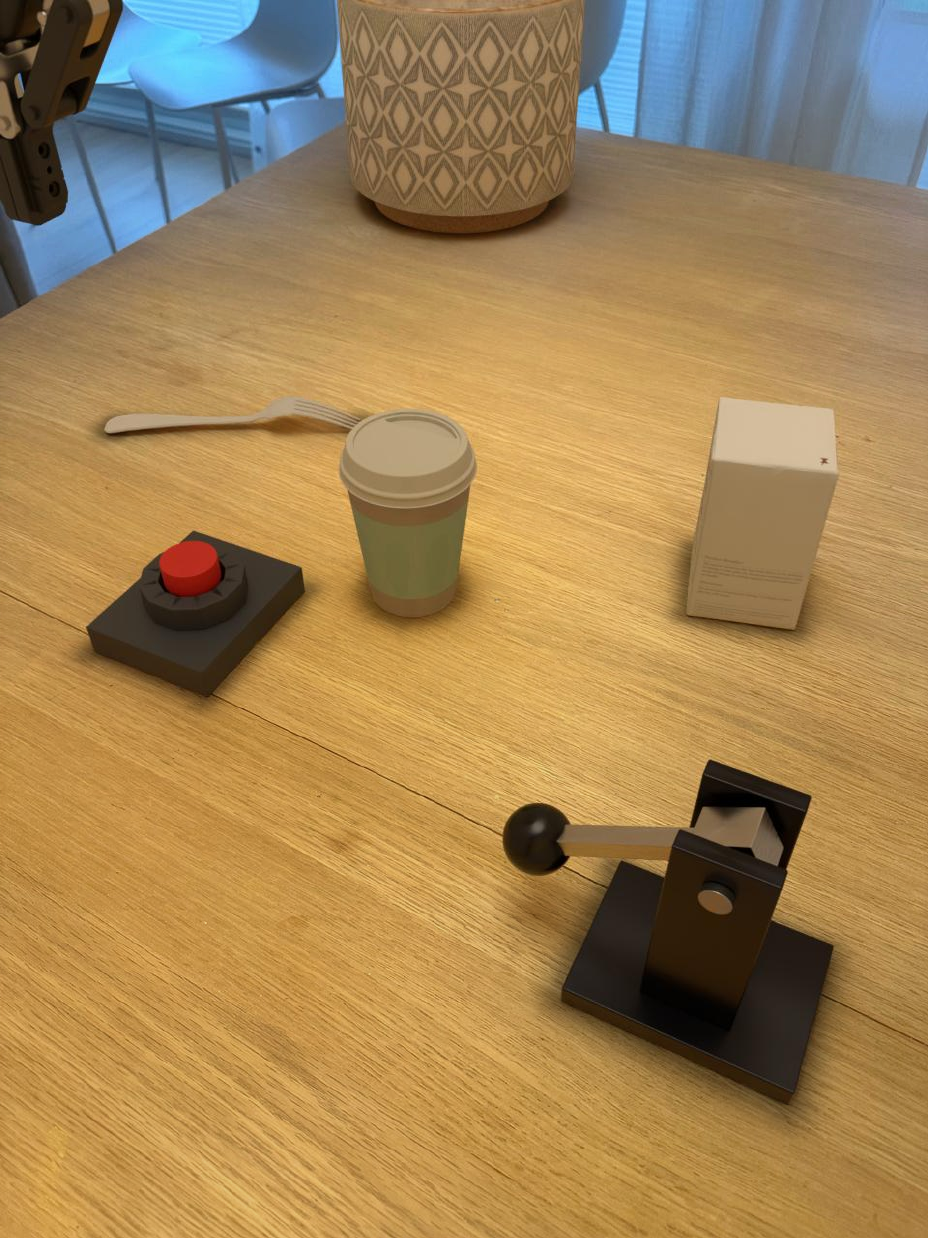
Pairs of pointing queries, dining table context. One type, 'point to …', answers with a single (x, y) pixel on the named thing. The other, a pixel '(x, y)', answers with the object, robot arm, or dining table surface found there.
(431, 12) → the planter
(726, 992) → the bracket
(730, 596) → the white packaging box
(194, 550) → the button
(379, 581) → the coffee cup
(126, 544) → the dining table surface
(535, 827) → the lever
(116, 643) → the button block
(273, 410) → the fork
